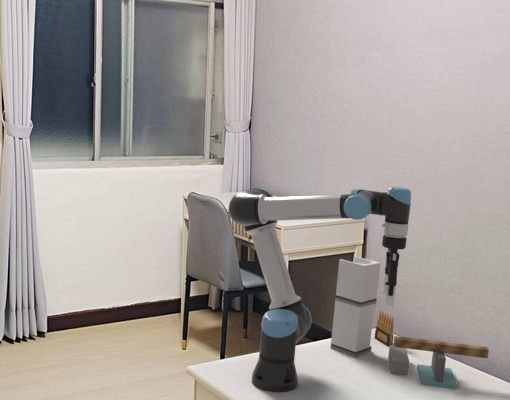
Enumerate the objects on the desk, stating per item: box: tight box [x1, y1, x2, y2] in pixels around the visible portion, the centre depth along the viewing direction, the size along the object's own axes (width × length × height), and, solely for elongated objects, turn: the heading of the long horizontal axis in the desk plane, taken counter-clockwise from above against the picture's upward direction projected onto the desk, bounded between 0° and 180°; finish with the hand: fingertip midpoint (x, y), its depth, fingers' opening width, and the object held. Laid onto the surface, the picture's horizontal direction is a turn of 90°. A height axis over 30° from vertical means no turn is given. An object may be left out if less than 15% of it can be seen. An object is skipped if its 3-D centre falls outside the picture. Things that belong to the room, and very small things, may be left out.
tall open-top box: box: [330, 256, 381, 358], centre depth 266 cm, size 11×11×35 cm
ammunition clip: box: [374, 310, 394, 348], centre depth 280 cm, size 11×2×12 cm, turn 22°
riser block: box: [387, 345, 410, 377], centre depth 254 cm, size 6×16×5 cm, turn 172°
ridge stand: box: [416, 352, 459, 390], centre depth 246 cm, size 12×16×10 cm
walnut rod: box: [393, 335, 490, 359], centre depth 245 cm, size 32×3×3 cm, turn 82°
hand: (387, 299), depth 228 cm, fingers open, 13 cm apart
